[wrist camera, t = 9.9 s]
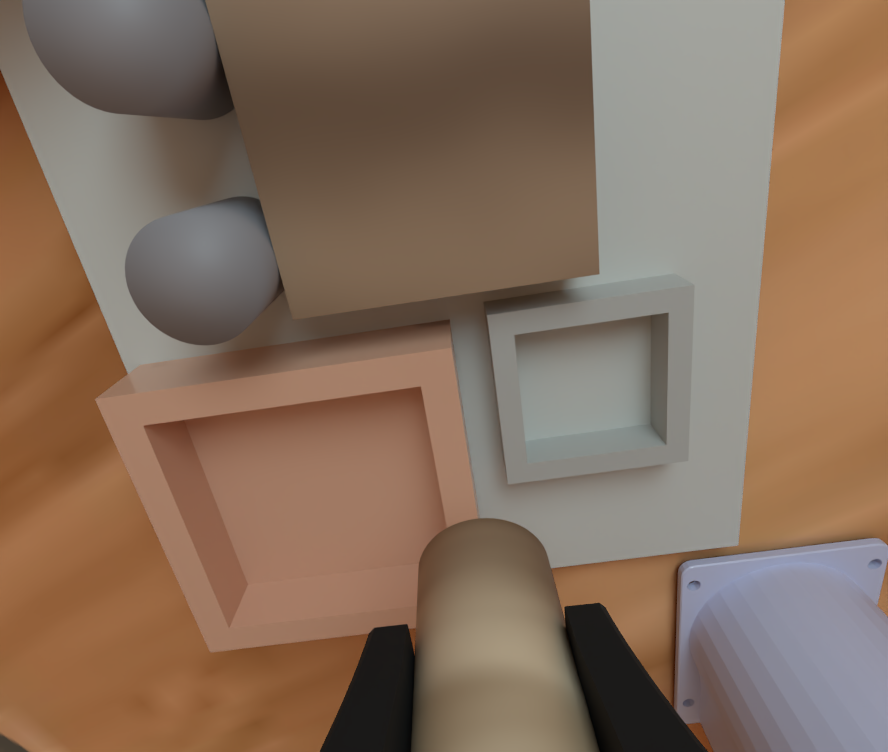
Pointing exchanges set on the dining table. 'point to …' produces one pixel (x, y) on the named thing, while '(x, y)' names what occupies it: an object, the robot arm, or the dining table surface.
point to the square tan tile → (416, 143)
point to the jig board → (471, 315)
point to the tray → (299, 478)
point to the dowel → (493, 647)
